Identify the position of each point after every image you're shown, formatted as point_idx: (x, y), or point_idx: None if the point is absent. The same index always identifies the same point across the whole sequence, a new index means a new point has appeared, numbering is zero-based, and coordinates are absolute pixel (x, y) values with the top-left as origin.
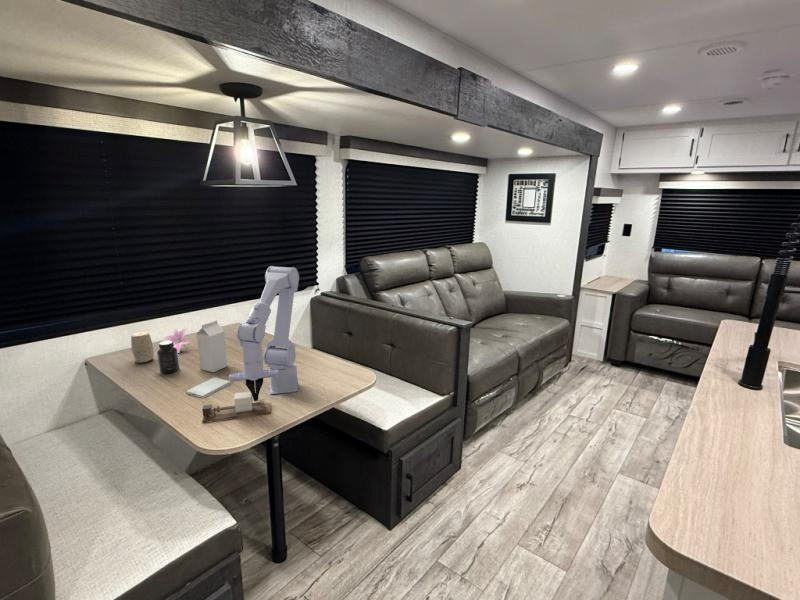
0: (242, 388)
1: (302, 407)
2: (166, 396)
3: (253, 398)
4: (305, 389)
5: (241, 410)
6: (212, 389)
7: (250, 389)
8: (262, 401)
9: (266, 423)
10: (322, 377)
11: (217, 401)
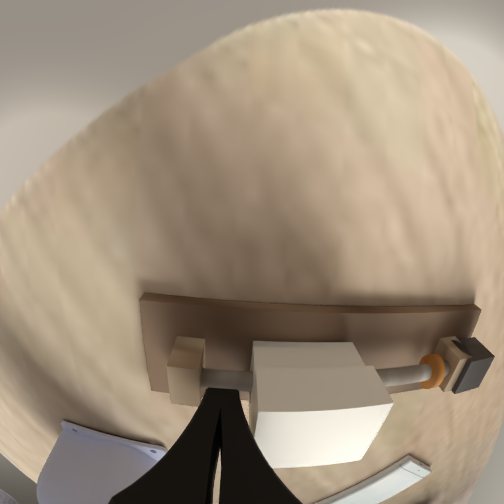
0: None
1: (12, 292)
2: (465, 451)
3: (239, 404)
4: (42, 416)
5: (321, 348)
6: (372, 486)
7: (264, 477)
8: (179, 383)
9: (171, 177)
10: (24, 442)
11: (379, 442)
